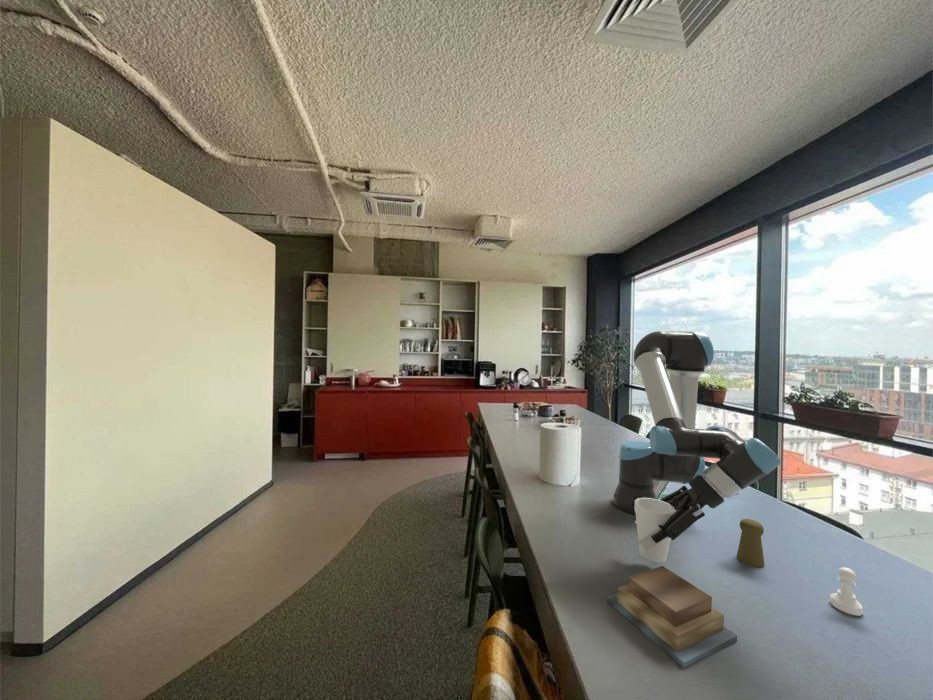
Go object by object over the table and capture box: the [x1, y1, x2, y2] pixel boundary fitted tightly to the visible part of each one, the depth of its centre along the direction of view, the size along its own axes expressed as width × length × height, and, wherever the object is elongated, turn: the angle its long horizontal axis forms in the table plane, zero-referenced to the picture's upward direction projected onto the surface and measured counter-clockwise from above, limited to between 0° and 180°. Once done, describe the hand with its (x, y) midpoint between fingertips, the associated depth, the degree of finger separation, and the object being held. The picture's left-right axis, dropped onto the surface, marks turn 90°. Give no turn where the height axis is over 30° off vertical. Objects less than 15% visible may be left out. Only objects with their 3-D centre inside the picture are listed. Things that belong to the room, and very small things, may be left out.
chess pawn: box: [829, 566, 864, 617], centre depth 80 cm, size 5×5×9 cm
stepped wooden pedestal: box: [606, 565, 738, 669], centre depth 75 cm, size 18×16×7 cm
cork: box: [736, 518, 765, 568], centre depth 97 cm, size 6×6×11 cm
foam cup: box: [634, 498, 677, 563], centre depth 92 cm, size 10×9×13 cm
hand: (640, 535), depth 93 cm, fingers closed on foam cup, 9 cm apart
